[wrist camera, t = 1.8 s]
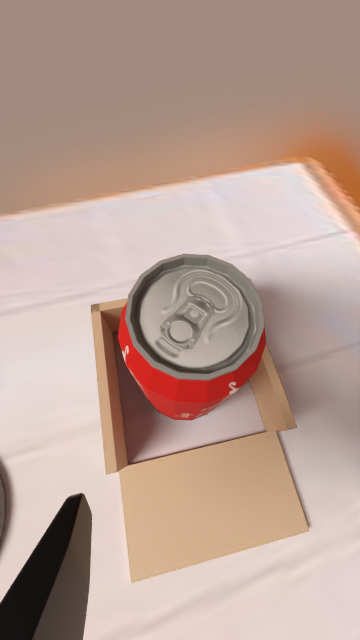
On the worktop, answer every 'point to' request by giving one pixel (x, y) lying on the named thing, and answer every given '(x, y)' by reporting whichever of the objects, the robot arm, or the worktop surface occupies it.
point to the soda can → (192, 334)
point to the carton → (198, 476)
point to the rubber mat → (2, 507)
